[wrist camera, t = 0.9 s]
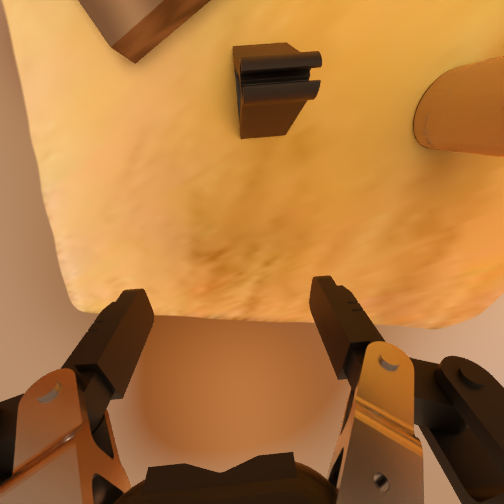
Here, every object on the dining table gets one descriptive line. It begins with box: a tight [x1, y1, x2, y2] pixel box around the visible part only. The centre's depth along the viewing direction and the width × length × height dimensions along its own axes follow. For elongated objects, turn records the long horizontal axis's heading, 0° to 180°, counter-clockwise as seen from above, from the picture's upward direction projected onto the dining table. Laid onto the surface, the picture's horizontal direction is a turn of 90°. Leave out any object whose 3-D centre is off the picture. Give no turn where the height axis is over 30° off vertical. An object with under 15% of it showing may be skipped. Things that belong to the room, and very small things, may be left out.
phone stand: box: [233, 43, 322, 139], centre depth 21 cm, size 9×6×12 cm, turn 4°
